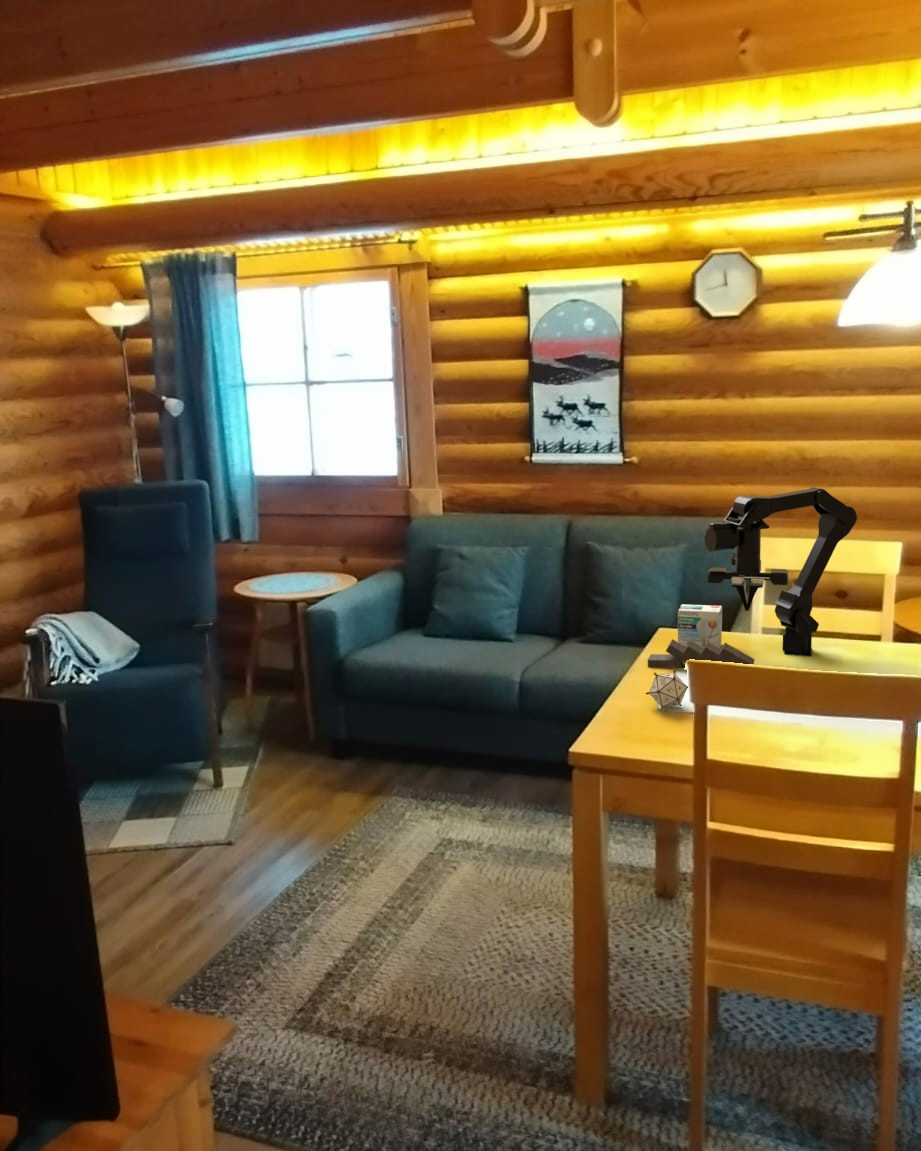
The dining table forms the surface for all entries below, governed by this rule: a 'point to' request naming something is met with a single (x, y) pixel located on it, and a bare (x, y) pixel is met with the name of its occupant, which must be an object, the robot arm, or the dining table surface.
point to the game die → (668, 690)
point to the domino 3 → (695, 651)
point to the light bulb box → (700, 625)
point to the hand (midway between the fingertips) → (747, 610)
